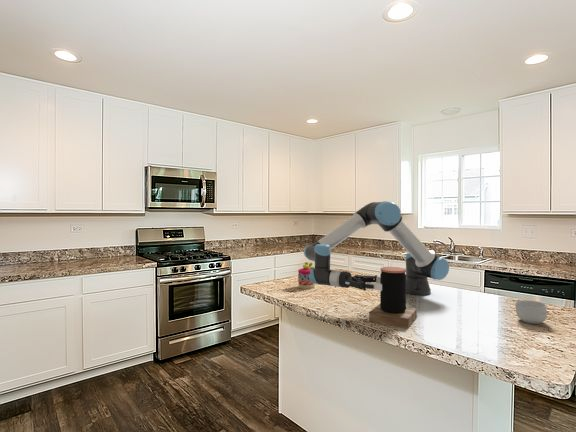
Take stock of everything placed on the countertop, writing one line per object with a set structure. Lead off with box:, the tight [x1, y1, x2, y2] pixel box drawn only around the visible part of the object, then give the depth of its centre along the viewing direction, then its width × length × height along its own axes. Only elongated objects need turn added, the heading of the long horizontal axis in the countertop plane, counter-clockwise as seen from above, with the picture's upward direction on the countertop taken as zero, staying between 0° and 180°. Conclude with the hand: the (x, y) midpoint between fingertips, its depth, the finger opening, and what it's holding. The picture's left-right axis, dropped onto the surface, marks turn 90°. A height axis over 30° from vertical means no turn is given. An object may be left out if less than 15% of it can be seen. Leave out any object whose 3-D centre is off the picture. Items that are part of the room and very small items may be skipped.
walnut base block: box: [368, 303, 418, 329], centre depth 144 cm, size 16×16×4 cm
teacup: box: [515, 299, 548, 325], centre depth 143 cm, size 14×11×8 cm
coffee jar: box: [379, 266, 407, 314], centre depth 144 cm, size 11×11×18 cm
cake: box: [297, 261, 316, 290], centre depth 205 cm, size 10×11×15 cm
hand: (386, 284), depth 145 cm, fingers open, 13 cm apart
